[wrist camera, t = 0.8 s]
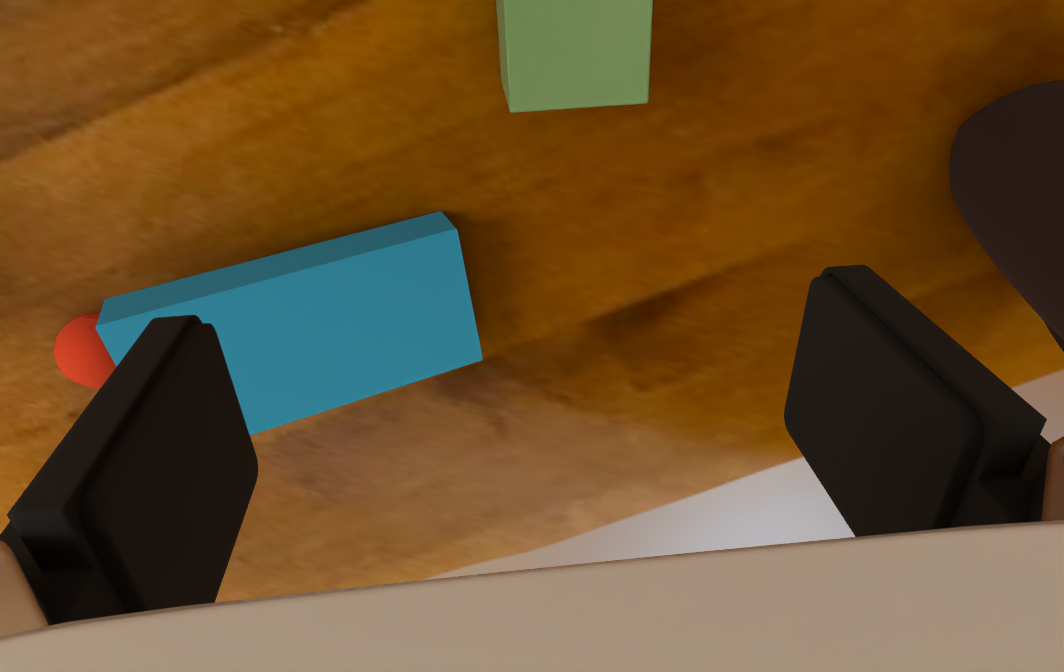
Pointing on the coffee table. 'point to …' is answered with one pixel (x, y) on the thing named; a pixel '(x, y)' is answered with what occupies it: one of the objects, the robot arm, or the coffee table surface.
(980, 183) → the cup
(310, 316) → the lever
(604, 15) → the green toy block
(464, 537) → the coffee table surface
